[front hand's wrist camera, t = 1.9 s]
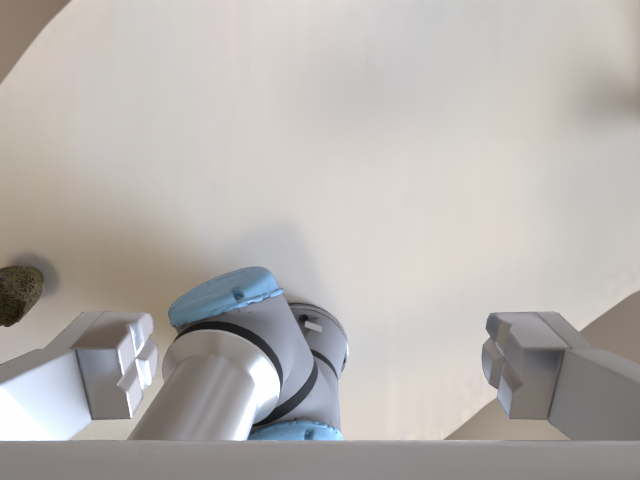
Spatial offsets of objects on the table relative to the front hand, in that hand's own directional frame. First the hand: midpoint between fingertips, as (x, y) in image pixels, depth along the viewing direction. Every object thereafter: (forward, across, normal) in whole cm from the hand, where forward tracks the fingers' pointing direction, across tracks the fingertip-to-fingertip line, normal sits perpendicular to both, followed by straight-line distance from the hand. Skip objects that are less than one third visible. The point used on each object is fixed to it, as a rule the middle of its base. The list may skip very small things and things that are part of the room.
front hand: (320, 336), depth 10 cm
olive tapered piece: (+48, +42, +21) cm, 67 cm away
